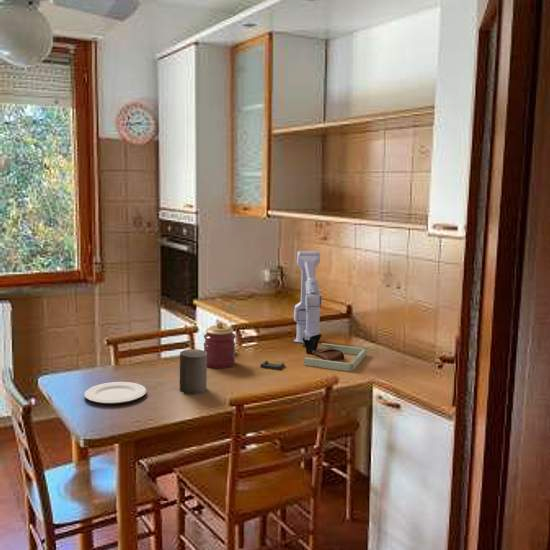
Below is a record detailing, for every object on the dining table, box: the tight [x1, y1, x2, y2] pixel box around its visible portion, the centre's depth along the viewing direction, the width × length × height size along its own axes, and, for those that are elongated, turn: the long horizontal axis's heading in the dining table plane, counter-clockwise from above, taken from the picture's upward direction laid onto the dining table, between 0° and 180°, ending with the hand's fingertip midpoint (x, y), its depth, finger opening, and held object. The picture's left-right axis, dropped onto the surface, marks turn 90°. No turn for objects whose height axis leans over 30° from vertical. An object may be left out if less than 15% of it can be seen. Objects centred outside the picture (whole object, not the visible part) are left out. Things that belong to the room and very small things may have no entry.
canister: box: [203, 321, 237, 369], centre depth 247 cm, size 13×13×18 cm
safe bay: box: [303, 342, 367, 373], centre depth 258 cm, size 25×20×3 cm
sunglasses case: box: [305, 342, 345, 362], centre depth 264 cm, size 18×7×7 cm
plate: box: [84, 381, 147, 405], centre depth 210 cm, size 21×21×2 cm
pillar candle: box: [178, 348, 208, 395], centre depth 217 cm, size 10×10×15 cm
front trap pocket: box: [260, 360, 285, 371], centre depth 247 cm, size 6×8×1 cm
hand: (311, 352), depth 261 cm, fingers open, 5 cm apart
